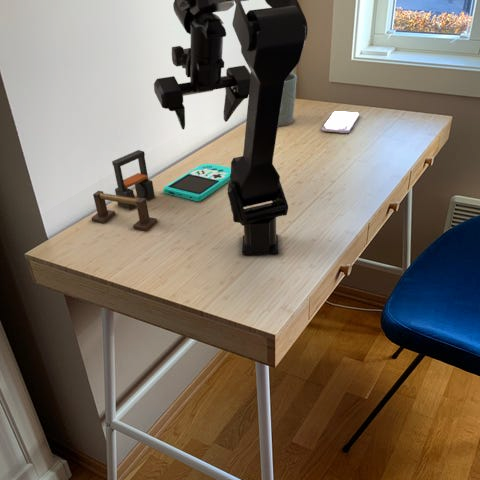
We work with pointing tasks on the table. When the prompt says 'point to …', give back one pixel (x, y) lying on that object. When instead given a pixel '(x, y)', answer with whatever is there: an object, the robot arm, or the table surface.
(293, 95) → the grey green embossed cup
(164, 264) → the table surface
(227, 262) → the table surface
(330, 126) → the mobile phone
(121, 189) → the arch frame with shelf
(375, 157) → the table surface
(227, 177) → the handheld game console
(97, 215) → the wooden parallette bar
